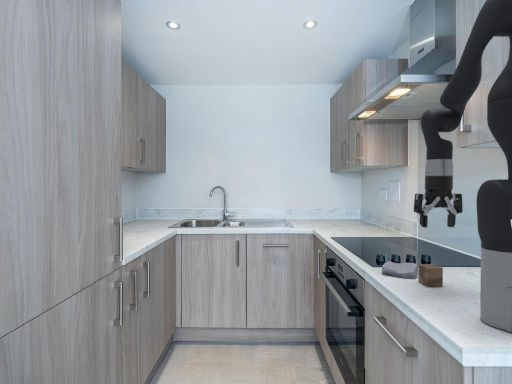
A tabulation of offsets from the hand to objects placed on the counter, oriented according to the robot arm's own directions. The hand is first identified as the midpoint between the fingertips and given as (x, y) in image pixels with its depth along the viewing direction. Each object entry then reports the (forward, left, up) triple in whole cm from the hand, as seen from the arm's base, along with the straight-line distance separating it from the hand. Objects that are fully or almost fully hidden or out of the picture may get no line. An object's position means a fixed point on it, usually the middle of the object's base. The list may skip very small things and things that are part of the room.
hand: (437, 227), depth 101 cm
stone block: (+16, +3, -20) cm, 26 cm away
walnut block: (+4, 0, -19) cm, 20 cm away
